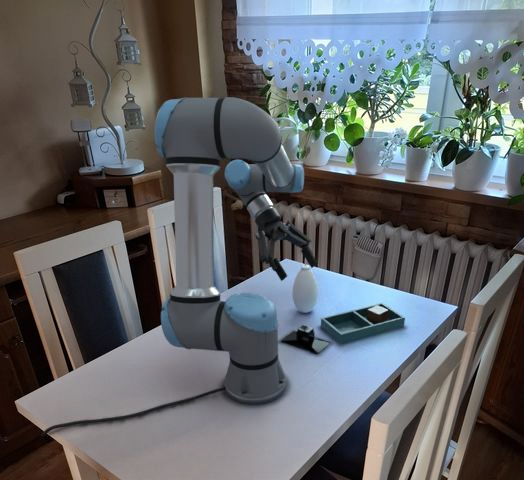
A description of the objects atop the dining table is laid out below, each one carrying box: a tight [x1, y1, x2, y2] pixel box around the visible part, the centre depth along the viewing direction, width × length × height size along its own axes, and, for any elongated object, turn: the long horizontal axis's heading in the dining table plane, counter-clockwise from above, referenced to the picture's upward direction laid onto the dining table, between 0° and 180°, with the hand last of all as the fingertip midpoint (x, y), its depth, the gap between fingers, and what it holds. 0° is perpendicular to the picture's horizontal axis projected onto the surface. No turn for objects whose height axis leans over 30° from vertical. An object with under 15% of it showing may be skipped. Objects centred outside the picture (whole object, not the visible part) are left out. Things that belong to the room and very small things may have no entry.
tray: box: [320, 302, 406, 345], centre depth 143 cm, size 22×11×3 cm, turn 114°
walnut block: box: [367, 305, 389, 325], centre depth 145 cm, size 4×4×4 cm
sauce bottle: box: [291, 257, 319, 314], centre depth 150 cm, size 8×8×18 cm
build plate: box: [280, 324, 331, 355], centre depth 137 cm, size 12×7×5 cm, turn 54°
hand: (300, 272), depth 149 cm, fingers open, 13 cm apart
